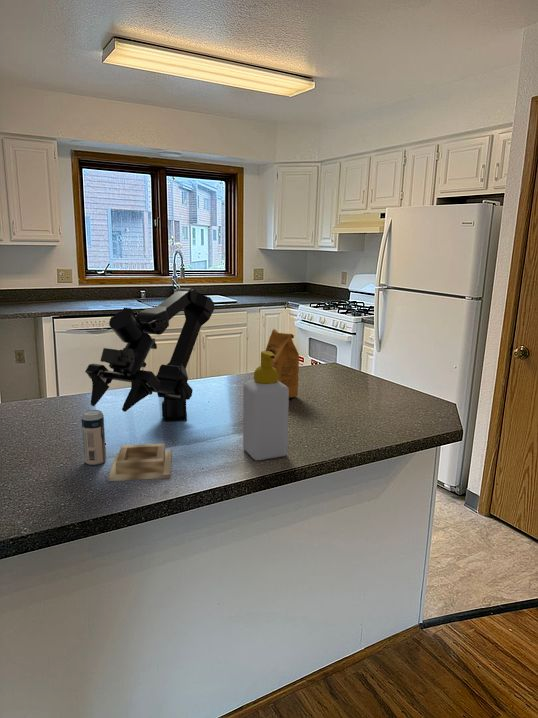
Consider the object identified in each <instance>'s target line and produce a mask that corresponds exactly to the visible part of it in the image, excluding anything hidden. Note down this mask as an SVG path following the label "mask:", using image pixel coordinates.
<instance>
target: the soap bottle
mask: <svg viewBox="0 0 538 718" xmlns="http://www.w3.org/2000/svg"><path fill="white" fill-rule="evenodd" d="M272 359H275V355H274V354H273V353H272V352H270V351H266V350H264V351H260V366H258V367H256V368H255V370H254V373H253V379H249V380H248V381H246V382H244V383H243V386H242V387H243V388H242V389H243V394H242V395H243V397H242V398H243V402H242V403H243V405H242V406H243V408H242V409H243V410H242V411H243V414H242V415H243V416H242V417H243V419H242V422H243V423H242V426H243V427H242V431H243V432H242V436H243V437H242V438H243V439H242V448H243V450H244V451H245V452H246V453H247V454H248V455H250V458H252V459H253V460H254V461H264V460H269V459H270V460H271V459H277V458H283V457H285V456H287V455H288V437H289V436H288V435H289V433H288V432H289V399H290V398H289V389H288V387H287V386H286V385H284V384H282V383H281V382H279V381H278V372H277V370H276V369H275V368H274V367H272Z"/></svg>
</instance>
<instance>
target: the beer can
mask: <svg viewBox="0 0 538 718" xmlns="http://www.w3.org/2000/svg"><path fill="white" fill-rule="evenodd" d="M104 418H105V417H104V413H103V411H102V410H99V409H90V410H89V409H88V410H86V411H83V414H82V416H81V428H82V429H81V430H82V432H81V433H82V443H83V445H82V446H83V456H84V457H83V459H84V460H83V461H84V463H85V464H87V465H90V466H98V465H101V464H103V463H104V462H105V461H106V460H107V450H106V434H105V431H106V430H105V419H104Z"/></svg>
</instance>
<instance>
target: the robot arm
mask: <svg viewBox="0 0 538 718" xmlns="http://www.w3.org/2000/svg"><path fill="white" fill-rule="evenodd" d="M182 310H183V314H184V318H185V320H184V323H183V326H182V329H181V332H180V334H179V337H178V339H177V342H176V345H175V347H174V350H173V353H172V355H171V357H170V360H169V362H168V363H166V364H163V363H162V364H161V365H160V366H159V370H158V372H157V374H156V375H155V374H154V372H153V371H149V370H144V369H143V370H142V368H146V366H147V363H146V361H145V360H146V359H147V357H148V356H149V353H150V351H151V350H157V348H158V346H157V343H156V338H154V337H152V336H151V335H155V336H159V335H162V334H163V333H165V331H166V330H167V329H168V328H169V326H170V320H171V319H173V318H174V317H175V316H176V315H177V314H179V313H180V312H181V311H182ZM214 311H215V302H214V301H213V300H212V298H211V297H210V296H207V295H205V294H202V293H200V292H198V291H197V290H195V289H193V288H190V287H189V288H187V287H185V288H184V287H180V288H178V289H176V292H174V293H173V294H171V295H170V296H169V297H168V298H166V299H165V300H164V301H162V302H161V303H160V304H158V305H157V306H154V307H148V308H146V309H143V310H140V311H139V312H138V313H137V314H135V313H134V310H133V309H132V308H130V307H123V309H122V311H121V310H120V311H118V312H117V313H115V314H113V316H111V317H110V319H109V323H108V325H109V328H111V330H112V331H113V332H114V333H115V334H116V336H117V337H118V338H119V339H120V340H121V342H123V343H126V345H125V347H123V348H122V349H115V348H114V349H113V348H107V347H103V348H102V353H101V356H100V360H99V361H100V362H101V363H107V364H109V365H108V367H109V368H110V369H112V370H113V371H112V370H109V369H108V368H107V367H106V366H105V365H104V364H100V363H99V364H98V363H90V364H88V365H87V367H86V370H85V371H84V373H86V374H87V375H88V378H89V379H91V382H92V383H91V384H92V388H91V389H92V390H91V396H90V406H92V407H95V406H96V405H97V404H98V403H99V402H100V401H101V399H102V397H103V396H104V394H105V393H106V392H107V391H108V390H109V388H110V386H109V384H111V383H112V381H113V380H114V381H120V382H127V383H131V386H130V387H131V388H130V390H129V392H128V394H127V396H126V399H125V401H124V403H123V406H122V408H121V410H122V412H124V413H126V412H127V411H128V410H130V409H131V408H132V407H134V405H136V404H138V402H140V401H141V400H143V399H144V398H146V397H147V396H149V395H150V396H151V395H153V393H157V397H158V398H163V400H162V402H161V411H162V412H161V414H162V415H161V417H162V418H163V421H164V422H175V421H187V420H188V415H187V414H188V413H187V400H190V399H191V398H192V396H193V388H192V386H191V385H190V384H189V383H188V381H189V377H188V373H187V367H188V364H189V362H190V361H189V360H190V359H191V356H192V352H193V350H194V347H195V345H196V341H197V338H198V336H199V334H200V333H199V332H200V330H201V328H202V326H203V325H205V324H206V323H207V322H208V321H209V320H210V318H211V316H212V315H213V312H214Z"/></svg>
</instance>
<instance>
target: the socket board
mask: <svg viewBox="0 0 538 718" xmlns="http://www.w3.org/2000/svg"><path fill="white" fill-rule="evenodd" d="M172 457H173V450H166V443H164V442H163V443H147V444H146V443H145V444H125V445H123V444H121V446H120V448H119V452H115V456H114V459H113V462H112V464H111V467H110V470H109V474H108V477H107V482H122V481H138V480H139V481H140V480H155V479H156V480H157V479H158V480H159V479H171V473H172V459H173V458H172Z"/></svg>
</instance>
